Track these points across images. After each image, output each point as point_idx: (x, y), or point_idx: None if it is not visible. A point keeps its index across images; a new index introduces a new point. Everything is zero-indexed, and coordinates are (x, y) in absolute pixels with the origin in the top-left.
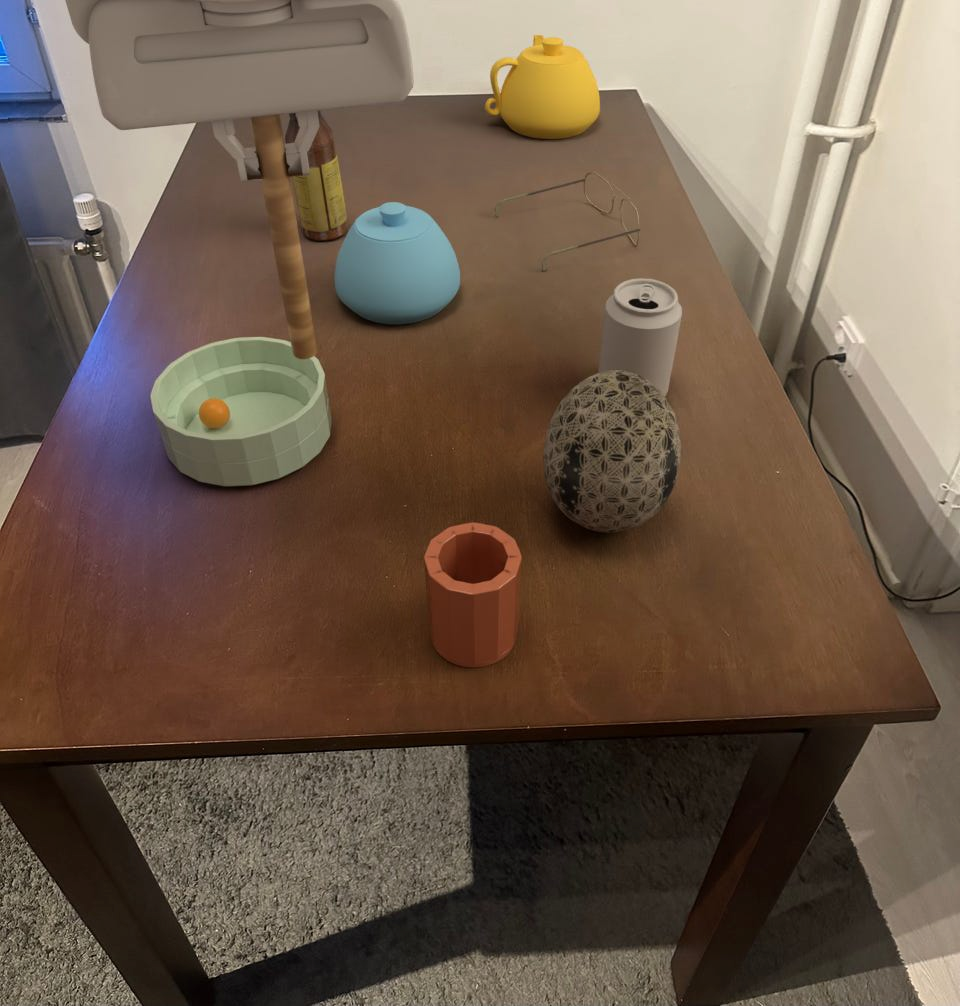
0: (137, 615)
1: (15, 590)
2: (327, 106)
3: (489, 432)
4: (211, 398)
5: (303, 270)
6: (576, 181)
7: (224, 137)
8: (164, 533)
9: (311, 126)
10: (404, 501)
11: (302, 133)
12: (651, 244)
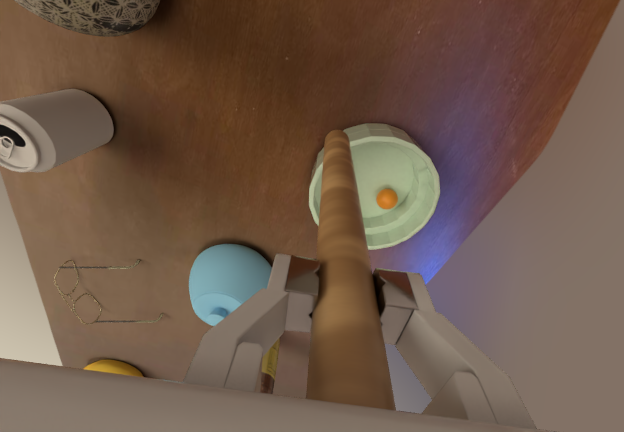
0: (513, 18)
1: (571, 87)
2: (124, 387)
3: (206, 116)
4: (386, 208)
5: (324, 175)
6: (101, 321)
7: (481, 368)
8: (457, 104)
9: (227, 339)
10: (286, 63)
11: (260, 335)
12: (62, 259)
